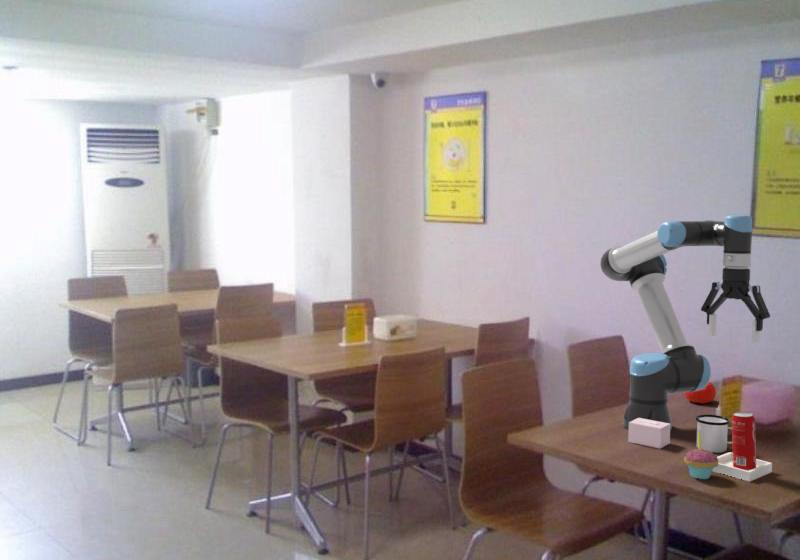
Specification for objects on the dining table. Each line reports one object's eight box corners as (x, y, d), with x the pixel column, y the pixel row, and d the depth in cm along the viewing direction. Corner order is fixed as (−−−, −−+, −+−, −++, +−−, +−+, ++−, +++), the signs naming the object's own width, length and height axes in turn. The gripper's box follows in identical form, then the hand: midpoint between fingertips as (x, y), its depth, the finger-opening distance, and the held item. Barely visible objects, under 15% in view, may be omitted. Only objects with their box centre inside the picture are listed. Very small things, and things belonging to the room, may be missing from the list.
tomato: (687, 405, 285) (688, 384, 284) (681, 397, 296) (682, 377, 295) (718, 406, 283) (719, 385, 282) (711, 399, 294) (712, 379, 293)
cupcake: (678, 471, 215) (679, 427, 214) (708, 470, 216) (710, 427, 215) (692, 482, 206) (694, 437, 205) (723, 481, 207) (725, 436, 206)
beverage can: (757, 473, 211) (759, 417, 209) (730, 470, 213) (733, 415, 211) (754, 466, 216) (757, 412, 215) (728, 463, 218) (731, 410, 217)
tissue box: (628, 441, 241) (628, 421, 241) (638, 436, 246) (638, 416, 246) (660, 448, 235) (660, 427, 234) (669, 443, 240) (670, 422, 239)
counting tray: (706, 469, 216) (706, 460, 216) (729, 460, 224) (729, 452, 224) (749, 481, 207) (749, 472, 207) (771, 472, 215) (772, 463, 214)
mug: (696, 452, 231) (697, 421, 230) (692, 442, 240) (693, 413, 240) (740, 455, 228) (741, 424, 227) (735, 445, 237) (736, 416, 237)
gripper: (691, 265, 243) (688, 334, 245) (772, 271, 224) (768, 345, 226) (704, 264, 248) (701, 331, 250) (784, 269, 228) (781, 343, 230)
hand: (733, 338), depth 238 cm, fingers open, 13 cm apart
